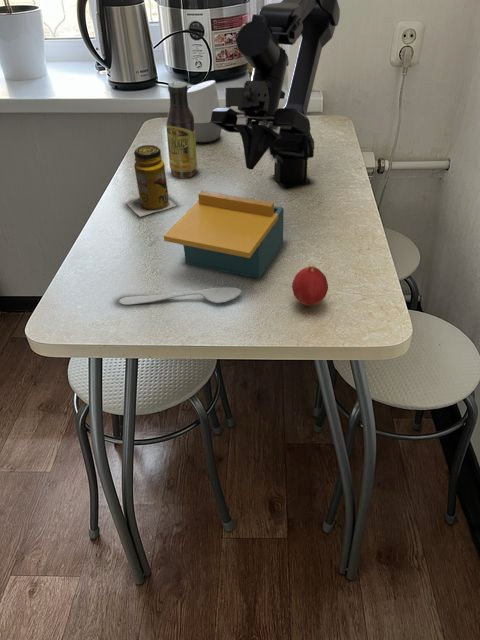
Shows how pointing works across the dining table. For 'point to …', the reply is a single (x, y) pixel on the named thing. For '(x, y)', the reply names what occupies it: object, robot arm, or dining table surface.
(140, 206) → the condiment
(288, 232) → the dining table surface
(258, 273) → the storage bin
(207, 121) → the smart speaker
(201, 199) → the bin lid
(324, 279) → the onion
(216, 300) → the spoon
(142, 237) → the dining table surface
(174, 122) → the sauce bottle
